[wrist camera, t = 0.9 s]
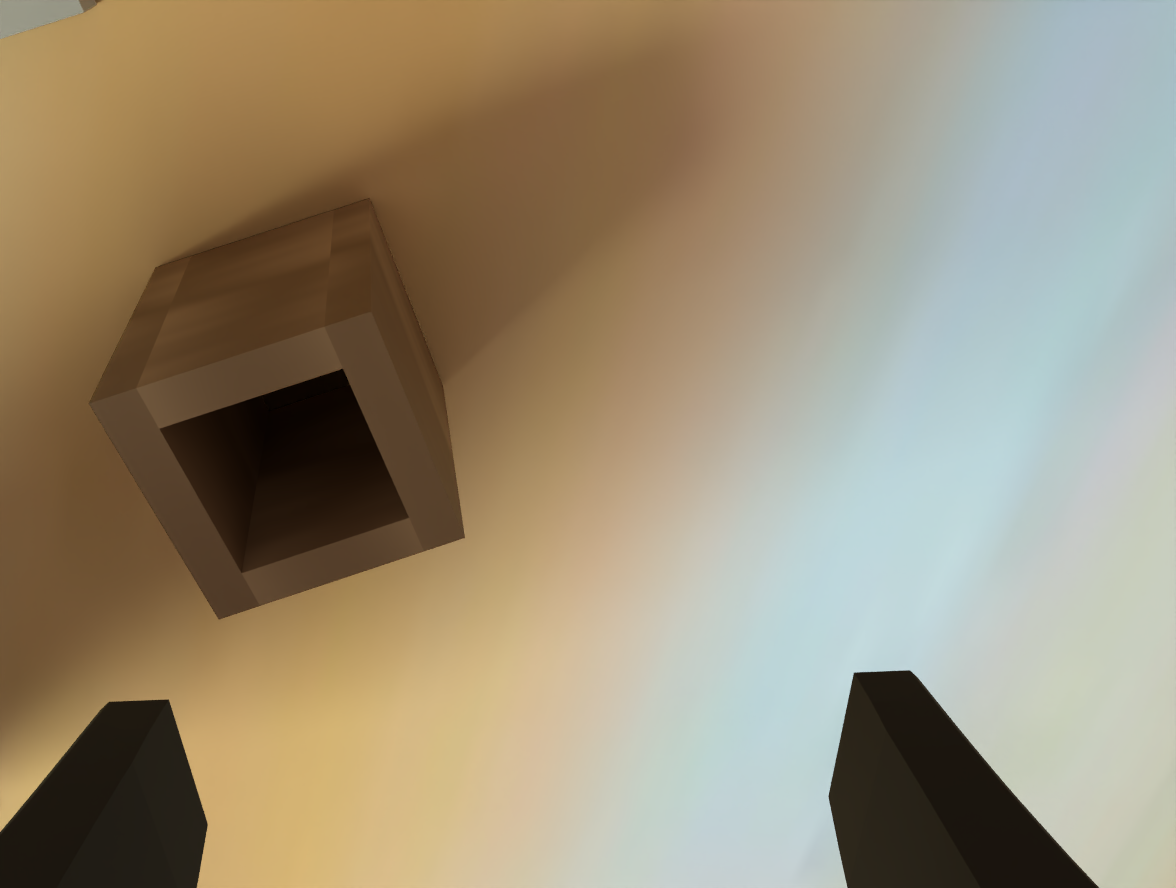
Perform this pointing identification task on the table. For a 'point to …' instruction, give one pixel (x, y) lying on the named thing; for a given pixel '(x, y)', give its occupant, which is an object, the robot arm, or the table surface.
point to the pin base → (37, 13)
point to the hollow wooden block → (284, 412)
